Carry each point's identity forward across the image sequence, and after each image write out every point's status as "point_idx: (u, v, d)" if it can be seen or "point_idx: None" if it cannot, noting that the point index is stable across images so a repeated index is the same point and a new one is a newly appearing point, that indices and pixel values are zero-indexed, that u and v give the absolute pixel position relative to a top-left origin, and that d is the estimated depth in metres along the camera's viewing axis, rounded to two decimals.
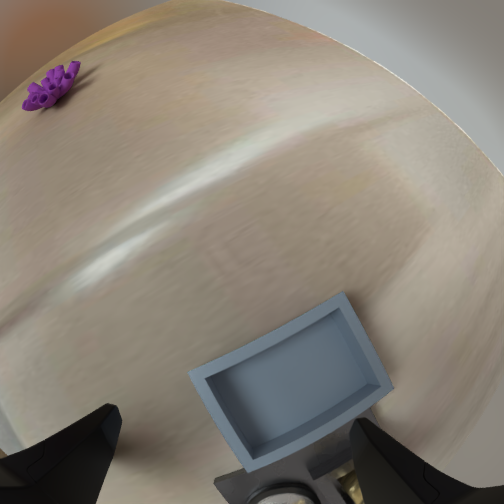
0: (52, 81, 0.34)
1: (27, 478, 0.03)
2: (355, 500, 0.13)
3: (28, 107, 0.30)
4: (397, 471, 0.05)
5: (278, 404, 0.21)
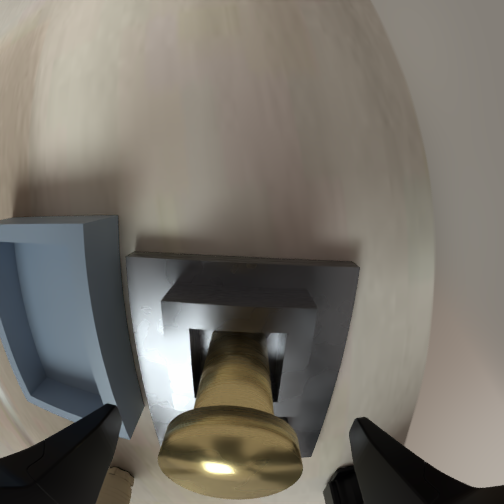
0: None
1: (27, 478, 0.03)
2: None
3: None
4: (397, 471, 0.05)
5: (80, 350, 0.15)
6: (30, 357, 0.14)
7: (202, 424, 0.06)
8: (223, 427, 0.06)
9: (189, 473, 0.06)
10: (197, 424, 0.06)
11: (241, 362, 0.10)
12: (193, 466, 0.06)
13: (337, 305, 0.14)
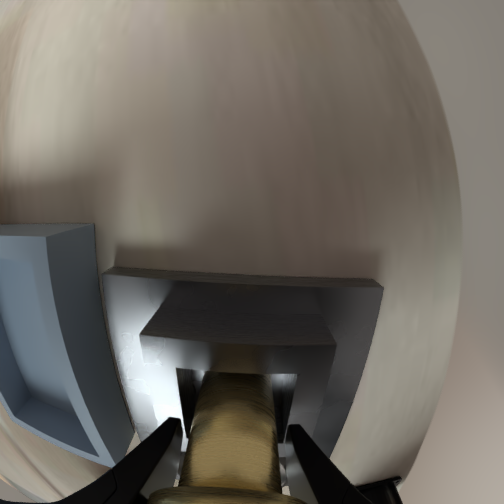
0: None
1: None
2: None
3: None
4: (313, 489, 0.05)
5: None
6: (12, 376, 0.11)
7: None
8: None
9: None
10: None
11: (241, 413, 0.07)
12: None
13: (356, 331, 0.11)
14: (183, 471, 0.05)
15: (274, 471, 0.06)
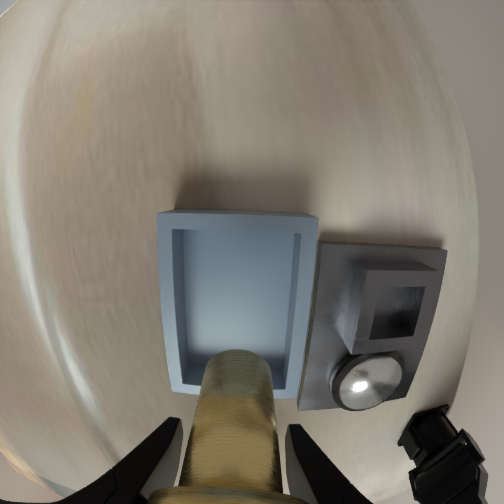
0: None
1: None
2: None
3: None
4: (313, 489, 0.05)
5: (250, 328, 0.21)
6: (184, 345, 0.20)
7: None
8: None
9: None
10: None
11: (241, 412, 0.07)
12: None
13: None
14: (183, 471, 0.05)
15: (275, 471, 0.06)
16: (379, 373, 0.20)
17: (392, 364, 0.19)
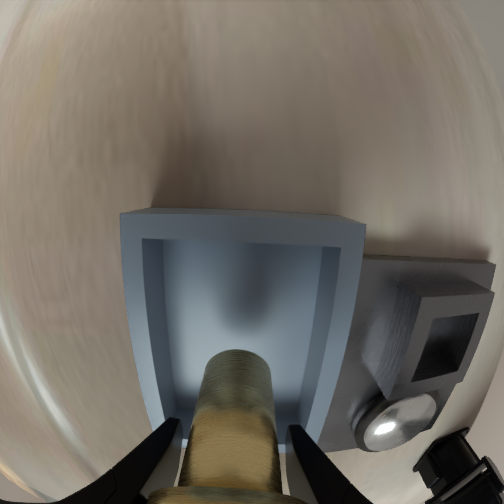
0: None
1: None
2: None
3: None
4: (313, 489, 0.05)
5: None
6: (169, 389, 0.14)
7: None
8: None
9: None
10: None
11: (241, 412, 0.07)
12: None
13: None
14: (183, 471, 0.05)
15: (274, 471, 0.06)
16: (412, 413, 0.14)
17: (428, 402, 0.14)
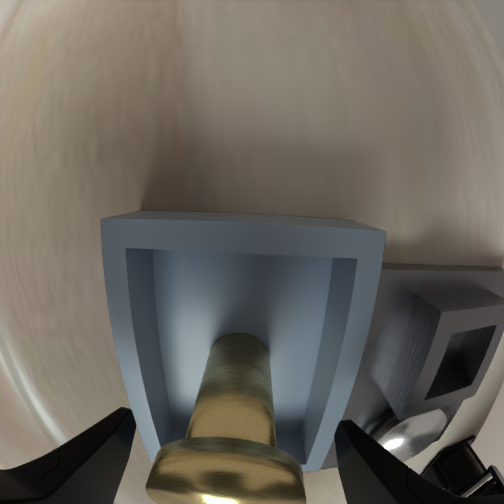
0: None
1: (43, 488, 0.03)
2: None
3: None
4: (378, 476, 0.05)
5: None
6: (163, 408, 0.12)
7: (193, 458, 0.05)
8: (216, 463, 0.05)
9: (180, 503, 0.05)
10: (187, 457, 0.05)
11: (241, 382, 0.09)
12: (184, 498, 0.05)
13: None
14: (188, 433, 0.07)
15: (269, 434, 0.07)
16: (422, 428, 0.12)
17: (438, 417, 0.12)
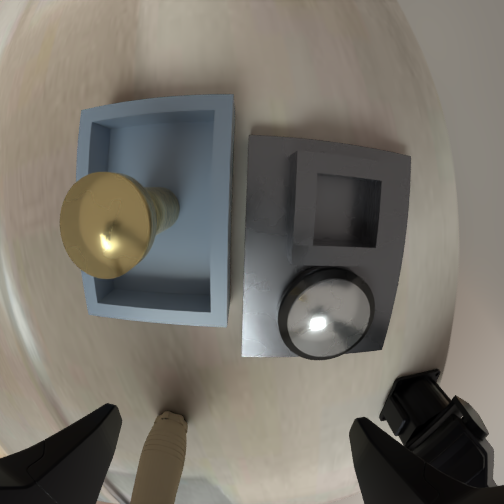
0: None
1: (27, 478, 0.03)
2: None
3: None
4: (397, 471, 0.05)
5: (174, 238, 0.18)
6: None
7: None
8: None
9: (75, 231, 0.10)
10: None
11: None
12: (78, 218, 0.09)
13: (400, 181, 0.17)
14: None
15: None
16: (338, 303, 0.17)
17: (354, 291, 0.17)
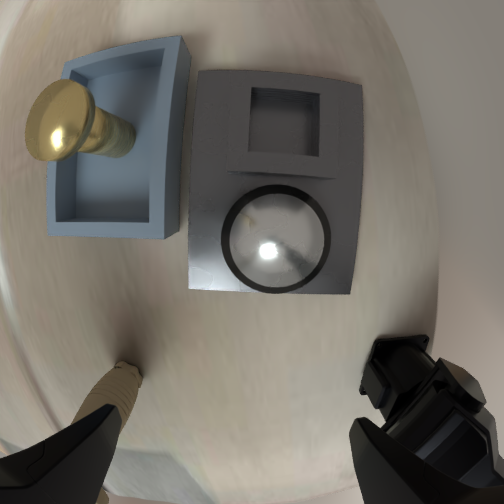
0: None
1: (27, 478, 0.03)
2: None
3: None
4: (397, 471, 0.05)
5: (129, 164, 0.18)
6: (68, 185, 0.17)
7: None
8: None
9: (35, 127, 0.09)
10: None
11: None
12: (38, 116, 0.09)
13: (351, 107, 0.17)
14: None
15: None
16: (284, 220, 0.17)
17: (302, 208, 0.17)
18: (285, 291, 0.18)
